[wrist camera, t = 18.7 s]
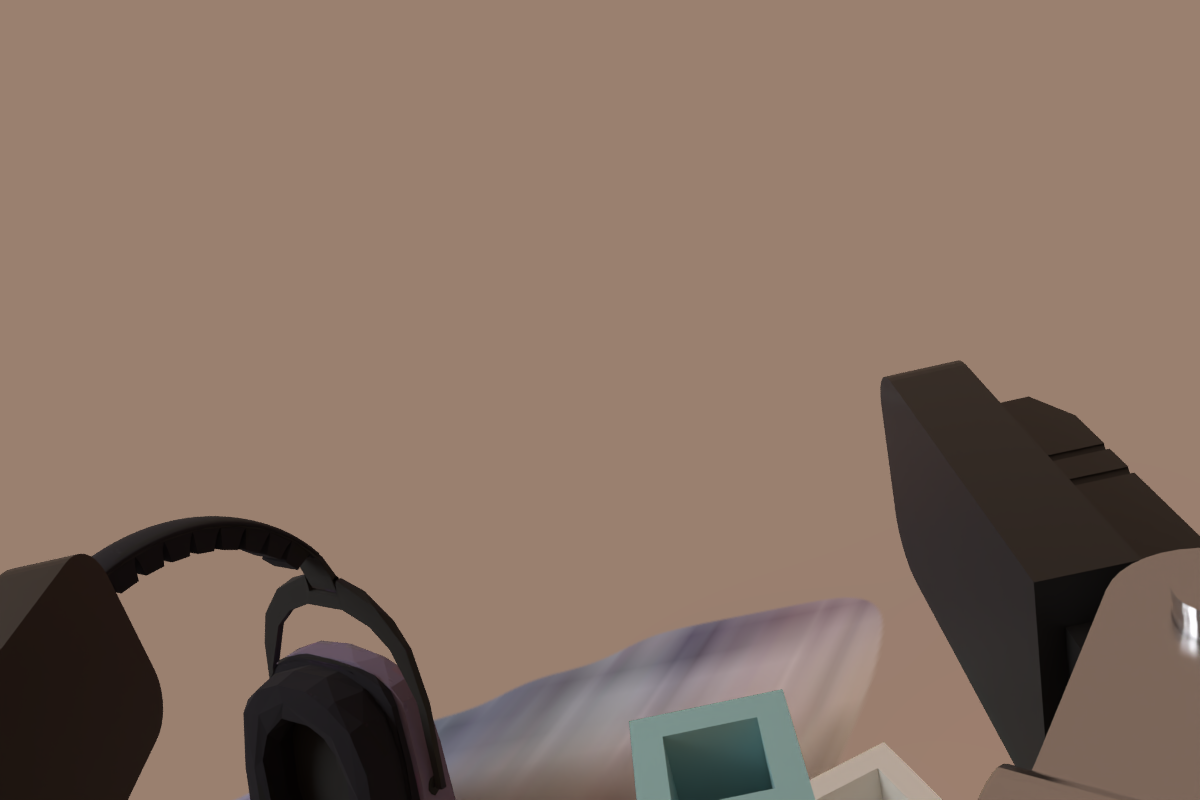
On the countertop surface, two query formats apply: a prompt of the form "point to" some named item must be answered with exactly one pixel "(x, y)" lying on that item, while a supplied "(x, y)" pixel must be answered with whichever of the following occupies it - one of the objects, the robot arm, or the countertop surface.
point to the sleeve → (720, 753)
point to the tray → (872, 779)
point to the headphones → (312, 677)
